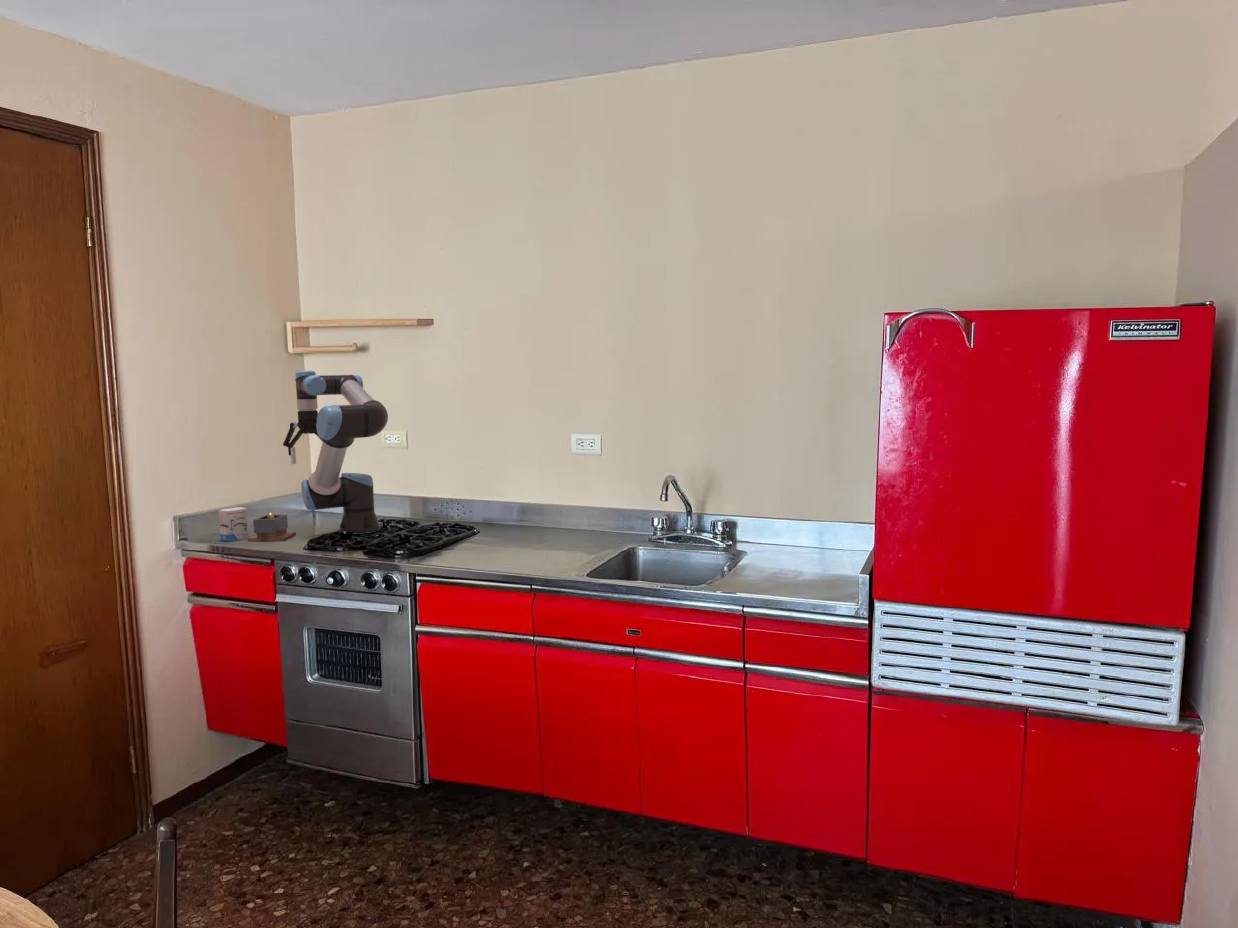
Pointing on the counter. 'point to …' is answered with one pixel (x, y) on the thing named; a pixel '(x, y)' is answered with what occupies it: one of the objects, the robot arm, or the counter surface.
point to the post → (270, 515)
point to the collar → (270, 524)
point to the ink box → (233, 524)
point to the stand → (272, 536)
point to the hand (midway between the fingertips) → (310, 463)
